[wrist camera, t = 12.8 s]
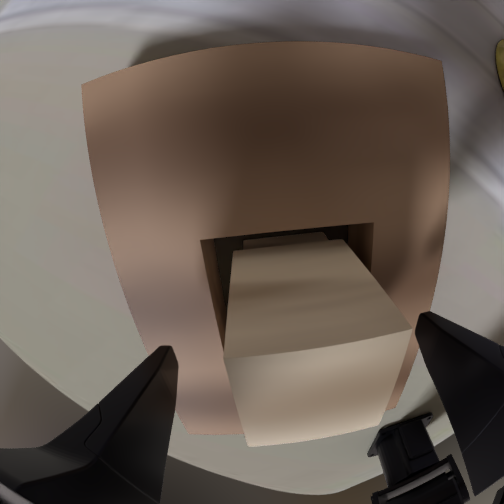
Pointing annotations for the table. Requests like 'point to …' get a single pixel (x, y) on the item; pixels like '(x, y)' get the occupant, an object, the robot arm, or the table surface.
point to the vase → (500, 61)
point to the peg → (309, 340)
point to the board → (264, 183)
